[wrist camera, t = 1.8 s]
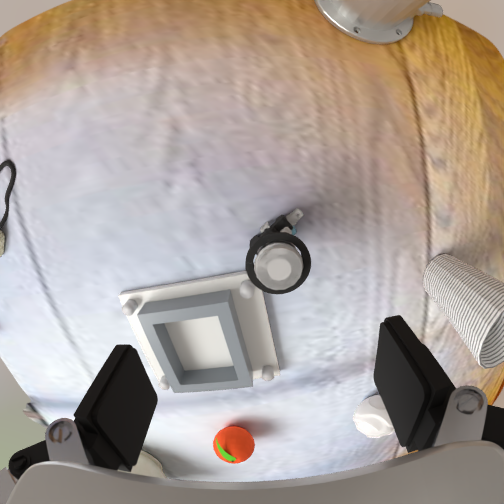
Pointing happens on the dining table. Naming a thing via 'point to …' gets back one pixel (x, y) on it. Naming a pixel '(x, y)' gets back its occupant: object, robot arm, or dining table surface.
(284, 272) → the push button
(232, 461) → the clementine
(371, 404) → the white rounded piece
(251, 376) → the frame
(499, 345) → the cup
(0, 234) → the cable
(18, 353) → the dining table surface
